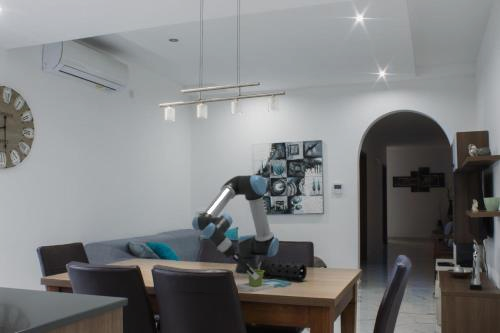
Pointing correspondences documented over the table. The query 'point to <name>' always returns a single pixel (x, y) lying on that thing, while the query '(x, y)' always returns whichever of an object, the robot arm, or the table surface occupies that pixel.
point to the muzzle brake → (283, 270)
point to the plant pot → (258, 281)
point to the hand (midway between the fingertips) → (255, 276)
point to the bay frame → (265, 285)
